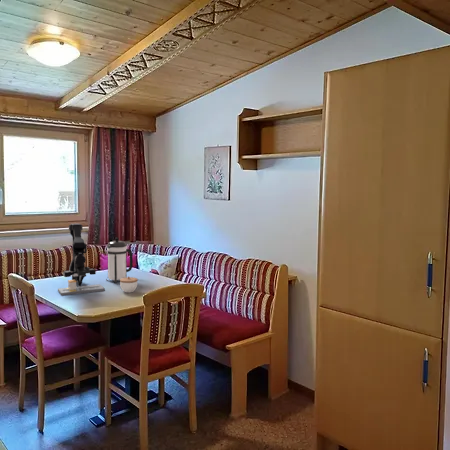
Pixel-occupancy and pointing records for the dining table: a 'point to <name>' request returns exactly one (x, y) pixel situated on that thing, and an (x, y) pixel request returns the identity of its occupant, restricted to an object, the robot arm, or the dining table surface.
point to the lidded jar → (128, 284)
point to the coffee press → (118, 260)
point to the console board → (81, 289)
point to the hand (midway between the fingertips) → (79, 286)
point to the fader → (71, 284)
